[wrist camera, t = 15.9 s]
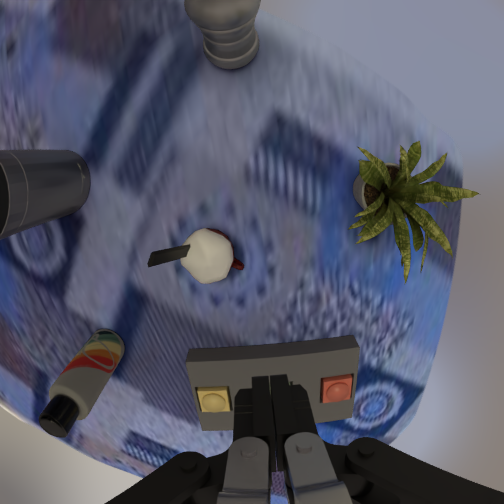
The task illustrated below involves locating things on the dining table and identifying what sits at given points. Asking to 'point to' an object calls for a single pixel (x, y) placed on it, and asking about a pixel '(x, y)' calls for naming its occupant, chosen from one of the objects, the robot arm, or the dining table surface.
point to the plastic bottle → (226, 30)
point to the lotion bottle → (81, 382)
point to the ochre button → (214, 398)
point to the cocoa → (202, 255)
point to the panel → (275, 373)
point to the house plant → (402, 201)
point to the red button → (335, 388)
